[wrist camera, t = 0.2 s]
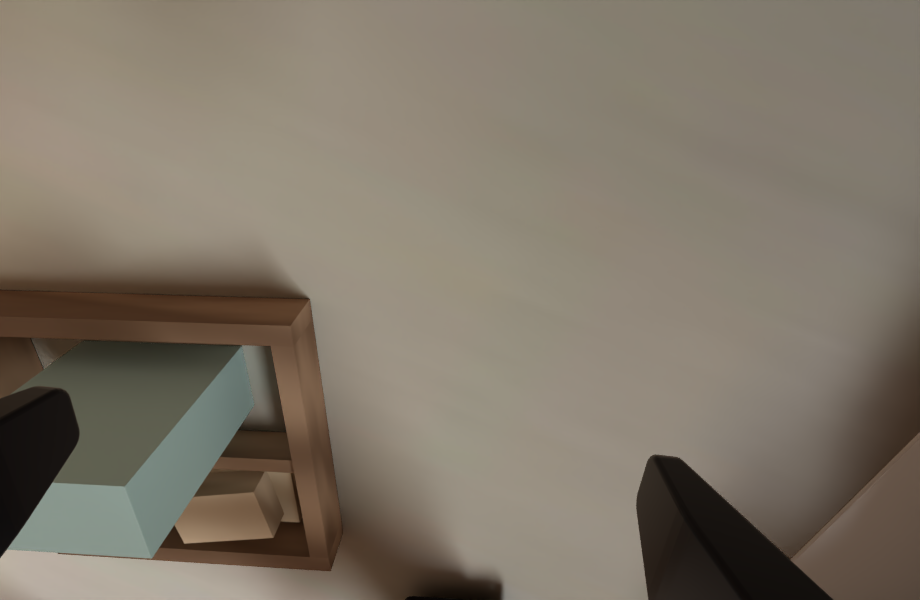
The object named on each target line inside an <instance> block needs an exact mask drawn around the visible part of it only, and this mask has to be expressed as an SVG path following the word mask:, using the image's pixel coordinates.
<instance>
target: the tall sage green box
mask: <svg viewBox="0 0 920 600" xmlns="http://www.w3.org/2000/svg"><path fill="white" fill-rule="evenodd" d="M34 386H47V387H56V388H62V389H64V390H66V391H67V393H68V394H69V395H70V398H71V401H72V405H73V408H74V411H75V415H76V418H77V422H78V425H79V429H80V436H79V440H78V443H77V445H76V447H75V449H74V450H73V452H72V453H71V455H70V456H69V458H68V459H67V461H66V463H65V464H64V466H63V467H62V469H61V470H60V472H59V473H58V475H57V476H56V478H55V479H54V481H53V483H52V484H51V486H50V487H49V489H48V490H47V492H46V493H45V495H44V496H43V498H42V499H41V501H40V502H39V504H38V506H37V507H36V509H35V510H34V512H33V513H32V515H31V516H30V518H29V519H28V521H27V522H26V524H25V525H24V527H23V528H22V530H21V531H20V532H19V534H18V535H17V537H16V538H15V539H14V541H13V542H12V543H11V545H10V546H9V547H8V550H24V551H39V552H55V553H71V554H87V555H103V556H119V557H134V558H150V559H152V558H153V556H154V555H155V553H156V552H157V550H158V549H159V547H160V546H161V544H162V543H163V541H164V540H165V538H166V537H167V535H168V534H169V532H170V531H171V529H172V528H173V526H174V525H175V523H176V522H177V520H178V519H179V517H180V516H181V514H182V513H183V511H184V510H185V508H186V507H187V505H188V504H189V502H190V501H191V499H192V498H193V496H194V495H195V493H196V492H197V490H198V489H199V487H200V486H201V484H202V483H203V481H204V480H205V478H206V477H207V475H208V474H209V472H210V471H211V469H212V468H213V466H214V465H215V463H216V462H217V460H218V459H219V457H220V456H221V454H222V453H223V451H224V450H225V448H226V447H227V445H228V444H229V442H230V441H231V439H232V438H233V436H234V435H235V433H236V432H237V430H238V429H239V427H240V426H241V424H242V423H243V421H244V420H245V418H246V417H247V415H248V414H249V412H250V411H251V409H252V408H253V406H254V401H253V396H252V391H251V387H250V382H249V377H248V373H247V368H246V363H245V359H244V354H243V349H242V346H228V345H199V344H171V343H143V342H114V341H86V340H83V341H82V342H81V343H79V344H78V345H77V346H75V347H74V348H72V349H71V350H70V351H68V352H67V353H66V354H64V355H63V356H62V357H60V358H59V359H58V360H56V361H55V362H53V363H52V364H51V365H49V366H48V367H47V368H45V369H44V370H43V371H41V372H40V373H39V374H37V375H36V376H34V377H33V378H32V379H30V380H29V381H28V382H26V383H25V384H24V385H22V386H21V387H20V388H18V389H17V390H15V391H14V392H13V393H16V392H19V391H22V390H25V389H28V388H30V387H34ZM13 393H11V394H13Z"/></svg>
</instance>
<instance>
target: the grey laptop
mask: <svg viewBox="0 0 920 600" xmlns="http://www.w3.org/2000/svg"><path fill="white" fill-rule="evenodd" d="M790 560H791V561H792V562H793V563H794V564H795V565H797V566H798V567H799V568H800V569H801V570H802V571H803V572H804V573H805V574H806V575H807V576H808V577H810V578H811V579H812V580H813V581H814V582H815V583H816V584H817V585H818V586H819V587H820V588H821V589H823V590H824V591H825V592H826V593H827V594H828V595H829V596H830V597H831V598H832V599H833V600H920V432H919V433H918V434H917V435H916V436H915V437H914V438H913V439H912V440H911V441H910V442H909V443H908V444H907V445H906V446H905V447H904V448H903V449H902V450H901V451H900V452H899V453H898V454H897V455H896V456H895V457H894V458H893V459H892V460H891V461H890V462H889V463H888V464H887V465H886V466H885V467H884V468H883V469H882V470H881V471H880V472H879V473H878V474H877V475H876V476H875V477H874V478H873V479H872V480H871V481H870V482H869V483H868V484H867V485H866V486H865V487H863V488H862V489H861V490H860V491H859V492H858V493H857V494H856V495H855V496H854V497H853V498H852V499H851V500H850V501H849V502H848V503H847V504H846V505H845V506H844V507H843V508H842V509H841V510H840V511H839V512H838V513H837V514H836V515H835V516H834V517H833V518H832V519H831V520H830V521H829V522H828V523H827V524H826V525H825V526H824V527H823V528H822V529H821V530H820V531H819V532H818V533H817V534H816V535H815V536H814V537H813V538H812V539H811V540H810V541H809V542H808V543H807V544H806V545H805V546H804V547H803V548H802V549H801V550H800V551H799V552H798V553H797V554H796V555H795V556H794V557H793V558H792V559H790Z"/></svg>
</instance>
